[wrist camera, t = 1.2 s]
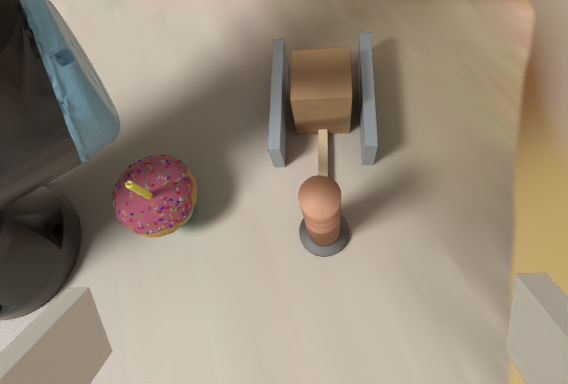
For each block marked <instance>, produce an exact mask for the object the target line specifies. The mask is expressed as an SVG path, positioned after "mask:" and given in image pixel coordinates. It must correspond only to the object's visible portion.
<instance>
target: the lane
mask: <svg viewBox="0 0 568 384" xmlns="http://www.w3.org/2000/svg"><path fill="white" fill-rule="evenodd" d="M357 65H358V87H359V108H360V129H361V150H362V165H373V164H374V160H375V156H376V152H377V147H378V141H377V125H376V110H375V94H374V79H373V63H372V48H371V32H368V33H359V45H358V57H357ZM287 88H288V61H287V55H286V49H285V44H284V39H273V54H272V75H271V96H270V116H269V137H268V151H269V154H270V156H271V159H272V162H273V164H274V167H285V156H286V122H287Z"/></svg>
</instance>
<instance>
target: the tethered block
mask: <svg viewBox="0 0 568 384" xmlns="http://www.w3.org/2000/svg"><path fill="white" fill-rule="evenodd" d="M290 101H291V106H292V112H293V117H294V122H295V127H296V132H297V135H305V134H318V166H319V175H318V176H313V177H311V178H309V179H307V180H306V181H305V182H304V183H303V184H302V185H301V187H300V190H299V194H298V197H299V202H300V206H301V209H302V213H303V217H304V219H303V220H302V222H301V225H300V231H299V232H300V238H301V241H302V243H303V245H304V247H305V248H306V249H307V250H308V251H309V252H311V253H312V254H314V255H317V256H322V257H327V256H332V255H334V254H336V253H338V252H339V251H340V250H342V248H343V247H344V246H345V244H346V242H347V239H348V232H349V231H348V225H347V222H346V220H345V219H344V217H343V216H342V215H341V214H340V210H341V190H340V187H339V186H338V184H337V183H336V182H335V181H334V180H333V179H331V178H330V177H328V134H332V133H350V121H351V108H352V77H351V53H350V47H339V48H324V49H309V50H294V51H292V54H291V92H290Z"/></svg>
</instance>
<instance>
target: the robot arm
mask: <svg viewBox="0 0 568 384" xmlns="http://www.w3.org/2000/svg"><path fill="white" fill-rule="evenodd" d="M119 130H120V120H119V116H118V113H117V111H116V109H115V106H114V104H113V102H112V100H111V98H110V96H109V94H108V92H107V90H106V89H105V87H104V85H103V83H102V81H101V79H100V78H99V76H98V74H97V72H96V71H95V69H94V67H93V65H92V64H91V62H90V60H89V59H88V57H87V55H86V54H85V52H84V50H83V49H82V47H81V46H80V44H79V42H78V41H77V39H76V37H75V36H74V34H73V33H72V31H71V30H70V28H69V27H68V25H67V24H66V22H65V21H64V19H63V18H62V16H61V15H60V13H59V12H58V10H57V9H56V8H55V6H54V5H53V4H52V3H51V2H50V1H49V0H0V320H9V319H14V318H18V317H21V316H24V315H26V314H28V313H30V312H32V311H34V310H36V309H37V308H39V307H40V306H42V305H43V304H44V303H46V302H47V301H48V300H49V299H50V298H51V297H52V296H53V295H55V293H56V292H57V291H58V290H59V289H60V288H61V286H62V285H63V284H64V282H65V281H66V279H67V278H68V276H69V274H70V273H71V271H72V269H73V267H74V264H75V262H76V259H77V256H78V252H79V247H80V238H81V232H80V224H79V220H78V216H77V214H76V212H75V210H74V208H73V206H72V205H71V204H70V202H69V201H68V200H67V199H66V198H65V197H63V196H62V195H60V194H59V193H57V192H55V191H53V190H51V189H49V188H46V187H44V186H43V185H45V184H47V183H49V182H50V181H52V180H54V179H56V178H57V177H59V176H61V175H63V174H64V173H66V172H68V171H70V170H71V169H73V168H75V167H77V166H78V165H80V164H85V163H86V162H87V161H88V160H89V157H91V156H92V155H94V154H95V153H97V152H98V151H100V150H101V149H103V148H104V147H106V146H107V145H109V144H110V143H112V142H113V141H114V140H115V139H116V138H117V136H118V133H119ZM506 350H507V352H508V354H509V356H510V357H511V359H512V361H513V363H514V364H515V366H516V368H517V369H518V371H519V373H520V375H521V377H522V378H523V380H524V382H525V383H526V384H568V296H567V295H566V294H565V293H564V292H563V291H562V290H561V289H560V288H559V287H558V285H557V284H556V283H555V282H554V281H553V280H552V279H551V278H550V277H549V276H548V275H547V274H546V273H519V274H516V277H515V284H514V292H513V299H512V307H511V314H510V322H509V329H508V336H507V344H506ZM111 352H112V349H111V346H110V344H109V341H108V338H107V335H106V333H105V330H104V327H103V324H102V322H101V319H100V316H99V313H98V311H97V308H96V305H95V302H94V300H93V297H92V294H91V291H90V289H89V287H79V288H67V289H66V290H65V291H64V292H63V293H62V294H61V295H60V296H59V297H58V298H57V299H56V300H55V301H54V302H53V303H52V304H51V305H50V306H48V307H47V308H46V309H45V310H44V311H43V312H42V313H41V314H40V315H39V316H38V317H37V318H36V319H35V320H34V321H33V322H32V323H31V324H30V325H29V326H28V327H27V328H26V329H24V330H23V331H22V332H21V333H20V334H19V335H18V336H17V337H16V338H15V339H14V340H13V341H12V342H11V343H10V344H9V345H8V346H7V347H6V348H5V349H4V350H3V351H2V352H0V384H90V383H91V382H92V380H93V379H94V377H95V376H96V374H97V373H98V371H99V370H100V368H101V367H102V366H103V364H104V363H105V361H106V360H107V358H108V357H109V355H110V354H111Z"/></svg>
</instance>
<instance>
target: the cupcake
mask: <svg viewBox="0 0 568 384" xmlns="http://www.w3.org/2000/svg"><path fill="white" fill-rule="evenodd" d="M197 198H198V195H197V182H196V179H195V178H194V176H193V175H192V173H191V172H190V171H189V170H188V168H187V167H186V166H185V165H184V164H183V163H181V161H178V160H176V159H174V158H171V157H169V156H164V155H161V156H153V157H151V156H150V157H148V158H143V159H142V160H138V162H137V163H134V164H133V165H132V166H131V165H129V167H128V169H127V170H126V171H125V172H124V173H123V174H122V175H121V177H120V179H119V181H118V182H117V184H116V187H115V189H114V192H113V199H112V201H113V200H114V204H113V207H114V208H115V212H116V216H117V217H116V218H118V220H119V222H120V223H121V224H123V225H125V226H126V227H127V228H129V229H130V230H132V231H134V232H135V233H137V234H140V235H143V236H147V237H160V236H163V235H167V234H171V233H173V232H174V231H176V230H177V229H178V228H179V227H181V226H183V225H184V224H185V223H187V222H188V221H189V219H190V218H191V216H192V214H193V212H194V206H195V204H196V202H197Z"/></svg>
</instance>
